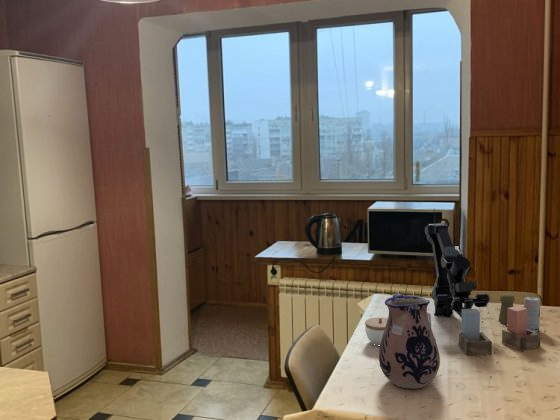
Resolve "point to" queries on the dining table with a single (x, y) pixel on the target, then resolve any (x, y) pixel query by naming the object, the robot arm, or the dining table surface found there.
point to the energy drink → (532, 312)
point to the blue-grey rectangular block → (471, 324)
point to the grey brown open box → (475, 345)
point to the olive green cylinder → (505, 306)
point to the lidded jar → (375, 329)
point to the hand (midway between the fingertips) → (466, 322)
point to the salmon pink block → (517, 320)
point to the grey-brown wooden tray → (521, 339)
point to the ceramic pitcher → (408, 343)
